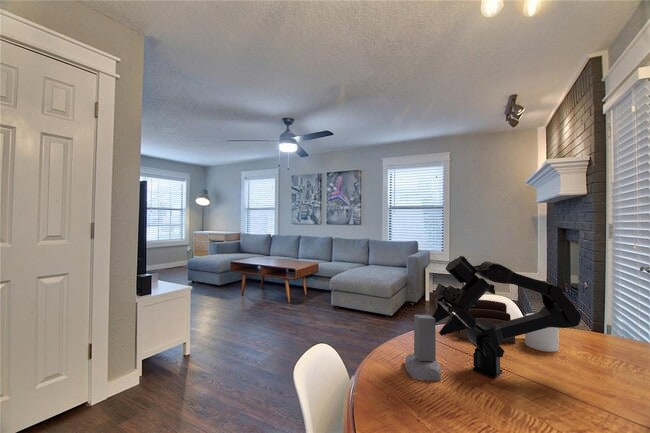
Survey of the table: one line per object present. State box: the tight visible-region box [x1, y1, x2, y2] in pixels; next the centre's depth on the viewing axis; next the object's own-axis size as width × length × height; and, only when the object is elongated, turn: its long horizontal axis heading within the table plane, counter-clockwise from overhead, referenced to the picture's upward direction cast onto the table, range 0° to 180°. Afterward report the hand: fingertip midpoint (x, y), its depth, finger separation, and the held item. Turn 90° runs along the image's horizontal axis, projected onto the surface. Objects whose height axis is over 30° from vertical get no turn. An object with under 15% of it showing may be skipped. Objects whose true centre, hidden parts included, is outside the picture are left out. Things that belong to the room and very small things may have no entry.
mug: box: [522, 312, 560, 353], centre depth 111 cm, size 14×10×11 cm
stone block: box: [404, 353, 442, 382], centre depth 91 cm, size 12×5×10 cm
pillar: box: [413, 314, 437, 361], centre depth 91 cm, size 5×5×12 cm
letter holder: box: [456, 299, 516, 344], centre depth 119 cm, size 10×20×14 cm, turn 75°
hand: (434, 328), depth 91 cm, fingers open, 9 cm apart
